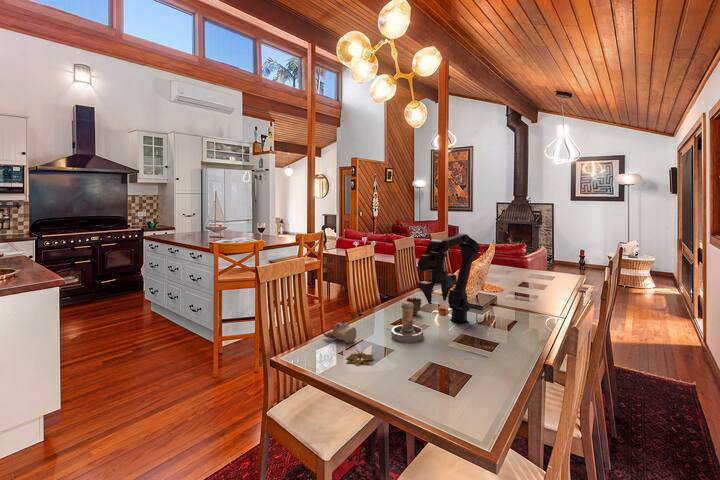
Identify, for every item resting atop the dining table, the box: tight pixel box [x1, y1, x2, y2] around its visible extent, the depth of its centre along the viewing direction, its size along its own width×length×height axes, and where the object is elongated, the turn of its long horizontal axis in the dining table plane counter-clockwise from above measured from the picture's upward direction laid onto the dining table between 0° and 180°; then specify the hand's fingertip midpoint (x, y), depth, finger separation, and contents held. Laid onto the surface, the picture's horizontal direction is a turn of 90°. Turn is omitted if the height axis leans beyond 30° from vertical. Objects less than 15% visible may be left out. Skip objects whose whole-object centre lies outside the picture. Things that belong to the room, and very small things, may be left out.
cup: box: [406, 297, 422, 316], centre depth 196 cm, size 8×7×8 cm
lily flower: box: [346, 347, 376, 367], centre depth 144 cm, size 12×12×5 cm
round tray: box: [390, 324, 424, 344], centre depth 166 cm, size 14×14×3 cm
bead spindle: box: [400, 301, 415, 335], centre depth 165 cm, size 6×6×14 cm
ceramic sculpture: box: [322, 320, 358, 344], centre depth 164 cm, size 11×9×15 cm
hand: (437, 302), depth 172 cm, fingers open, 9 cm apart
